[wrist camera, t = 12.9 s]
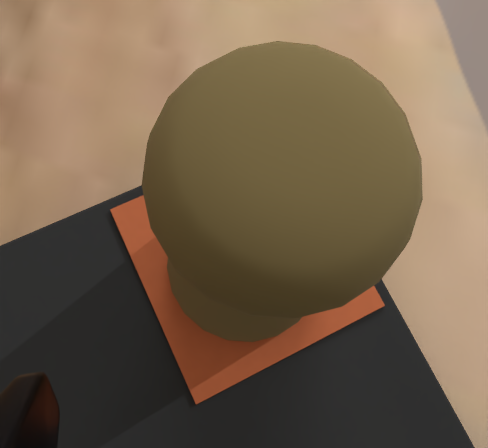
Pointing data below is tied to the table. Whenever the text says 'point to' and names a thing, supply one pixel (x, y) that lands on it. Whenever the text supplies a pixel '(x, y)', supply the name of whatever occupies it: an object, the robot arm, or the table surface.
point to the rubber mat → (201, 354)
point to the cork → (279, 187)
